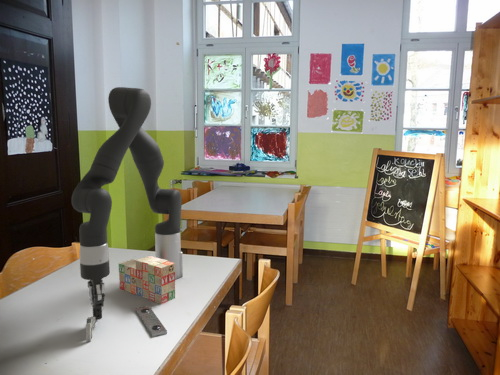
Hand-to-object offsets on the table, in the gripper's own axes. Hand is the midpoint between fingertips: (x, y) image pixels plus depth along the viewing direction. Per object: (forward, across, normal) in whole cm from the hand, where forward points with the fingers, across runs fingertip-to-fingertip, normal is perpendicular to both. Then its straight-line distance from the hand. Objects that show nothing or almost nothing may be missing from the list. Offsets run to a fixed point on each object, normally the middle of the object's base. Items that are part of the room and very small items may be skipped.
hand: (97, 318), depth 115 cm
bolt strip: (+2, -5, -14) cm, 15 cm away
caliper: (+3, +1, 0) cm, 3 cm away
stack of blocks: (+3, +17, -18) cm, 25 cm away
